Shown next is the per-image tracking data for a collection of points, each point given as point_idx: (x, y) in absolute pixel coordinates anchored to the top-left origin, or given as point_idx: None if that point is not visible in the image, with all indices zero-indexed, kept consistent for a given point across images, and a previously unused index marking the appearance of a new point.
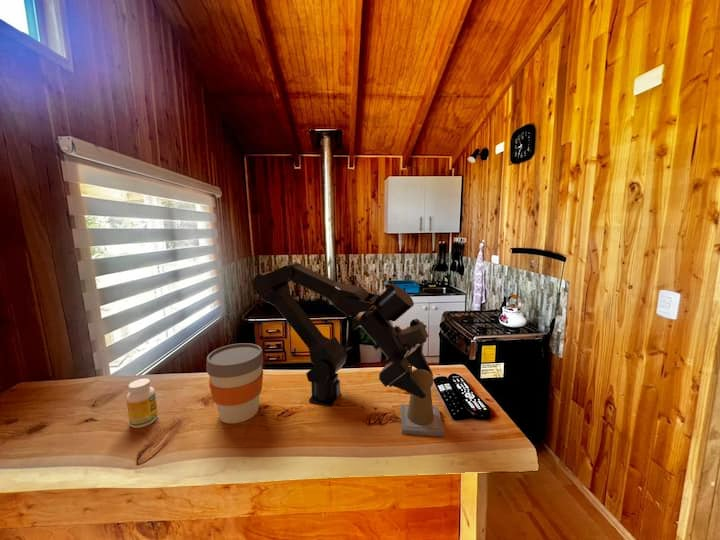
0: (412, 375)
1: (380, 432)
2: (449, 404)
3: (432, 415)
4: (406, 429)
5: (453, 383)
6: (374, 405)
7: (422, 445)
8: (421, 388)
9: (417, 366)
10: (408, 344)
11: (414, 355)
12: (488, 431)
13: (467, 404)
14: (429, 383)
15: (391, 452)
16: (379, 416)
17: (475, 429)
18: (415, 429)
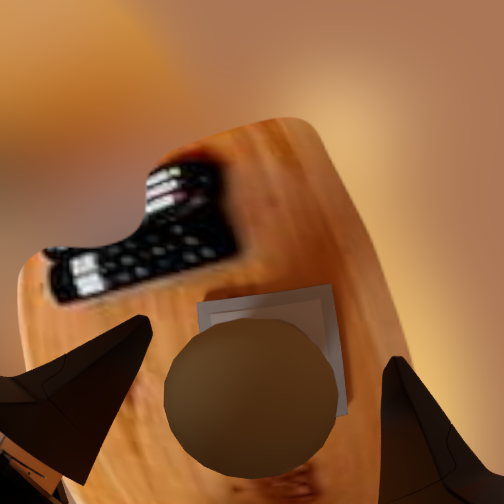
0: (448, 478)
1: (347, 462)
2: (164, 264)
3: (284, 323)
4: (345, 402)
5: (73, 247)
6: (222, 492)
7: (380, 346)
8: (411, 390)
9: (107, 413)
10: None
11: (51, 445)
12: (271, 169)
13: (159, 212)
14: (316, 345)
15: None
16: (274, 478)
17: (271, 198)
18: (339, 375)
